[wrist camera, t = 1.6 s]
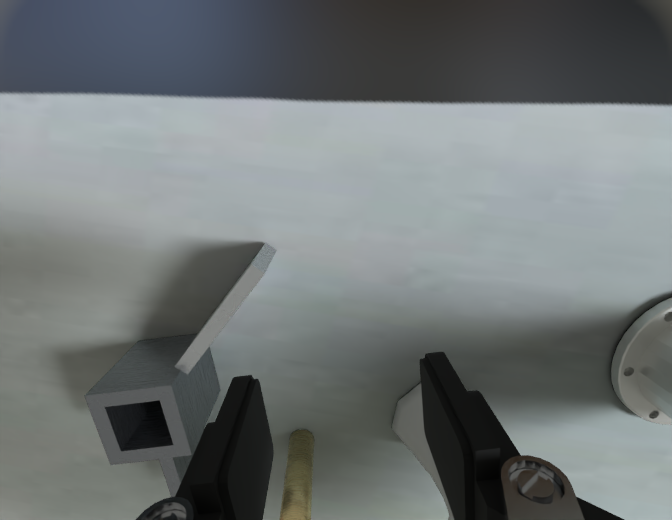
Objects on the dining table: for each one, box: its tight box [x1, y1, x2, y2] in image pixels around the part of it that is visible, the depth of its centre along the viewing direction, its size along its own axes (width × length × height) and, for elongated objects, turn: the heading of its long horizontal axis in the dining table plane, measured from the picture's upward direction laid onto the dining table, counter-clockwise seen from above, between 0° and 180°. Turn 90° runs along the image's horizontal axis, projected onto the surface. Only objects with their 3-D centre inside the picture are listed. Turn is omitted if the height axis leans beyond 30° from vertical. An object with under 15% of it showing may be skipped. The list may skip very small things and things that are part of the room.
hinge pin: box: [280, 430, 314, 520], centre depth 28 cm, size 2×2×11 cm
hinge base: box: [85, 334, 220, 497], centre depth 28 cm, size 6×14×7 cm, turn 7°
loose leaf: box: [175, 243, 276, 375], centre depth 26 cm, size 1×9×6 cm, turn 142°
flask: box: [392, 383, 454, 520], centre depth 28 cm, size 7×7×10 cm
